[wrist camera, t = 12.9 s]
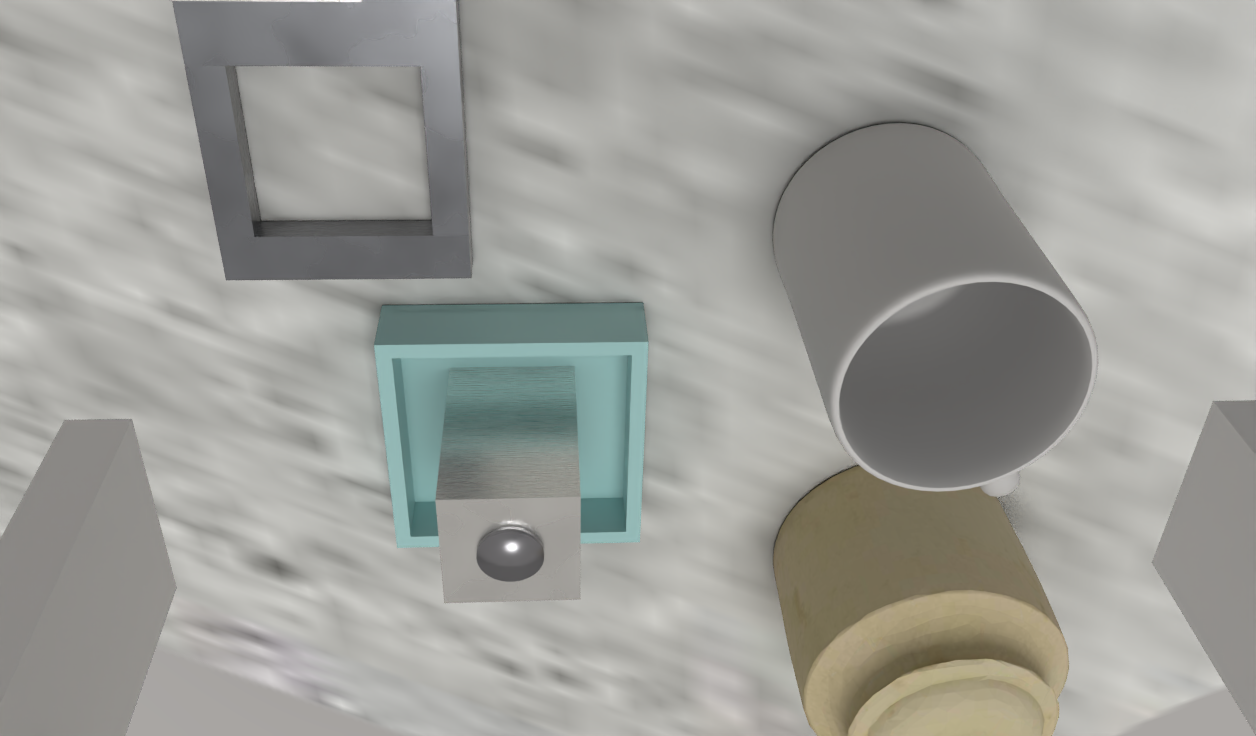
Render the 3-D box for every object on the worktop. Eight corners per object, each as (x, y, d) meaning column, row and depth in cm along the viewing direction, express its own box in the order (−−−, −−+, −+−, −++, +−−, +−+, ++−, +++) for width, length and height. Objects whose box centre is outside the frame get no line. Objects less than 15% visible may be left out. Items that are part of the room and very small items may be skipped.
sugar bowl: (1061, 616, 59) (1199, 899, 47) (859, 699, 62) (939, 988, 49) (955, 414, 51) (1087, 690, 39) (728, 519, 54) (784, 808, 42)
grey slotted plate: (116, -355, 34) (104, -352, 33) (439, -347, 34) (436, -343, 33) (232, 263, 45) (225, 280, 44) (472, 262, 45) (471, 278, 45)
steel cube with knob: (449, 367, 47) (434, 505, 41) (574, 366, 48) (581, 502, 41) (456, 464, 50) (443, 609, 44) (574, 462, 51) (580, 605, 44)
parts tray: (382, 305, 46) (373, 345, 44) (643, 302, 47) (648, 341, 45) (403, 503, 52) (397, 547, 50) (635, 498, 53) (639, 541, 51)
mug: (734, 184, 44) (785, 348, 35) (951, 79, 42) (1062, 223, 34) (850, 408, 51) (917, 595, 42) (1042, 325, 49) (1156, 502, 40)
